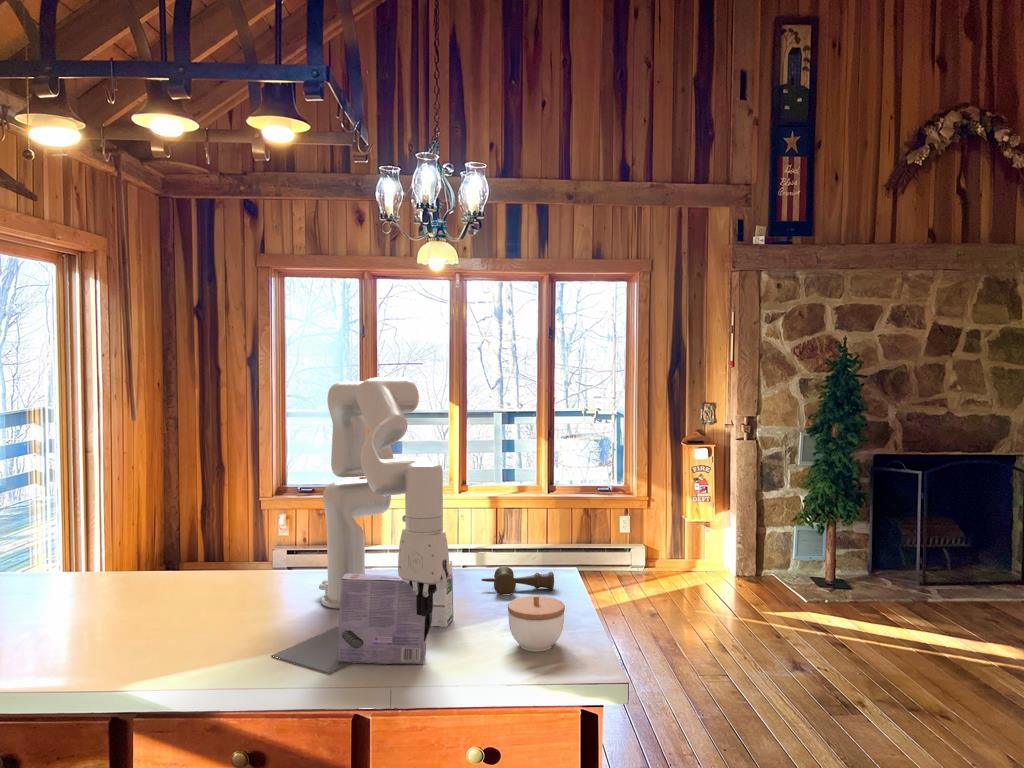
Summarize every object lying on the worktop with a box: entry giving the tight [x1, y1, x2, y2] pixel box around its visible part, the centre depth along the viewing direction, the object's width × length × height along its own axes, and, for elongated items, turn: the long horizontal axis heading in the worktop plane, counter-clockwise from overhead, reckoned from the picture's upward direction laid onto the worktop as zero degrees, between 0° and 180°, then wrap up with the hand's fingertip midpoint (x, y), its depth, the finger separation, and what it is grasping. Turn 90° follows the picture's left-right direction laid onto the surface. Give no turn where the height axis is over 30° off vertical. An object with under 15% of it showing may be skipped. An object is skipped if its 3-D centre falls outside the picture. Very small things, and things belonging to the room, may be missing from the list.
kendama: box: [481, 566, 555, 596], centre depth 206 cm, size 6×10×20 cm
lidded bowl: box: [507, 594, 566, 652], centre depth 166 cm, size 13×13×11 cm
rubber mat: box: [271, 625, 355, 675], centre depth 165 cm, size 17×22×1 cm
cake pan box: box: [337, 573, 432, 665], centre depth 158 cm, size 19×5×18 cm, turn 91°
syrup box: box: [430, 560, 454, 628], centre depth 180 cm, size 6×6×14 cm
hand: (424, 613), depth 152 cm, fingers closed
